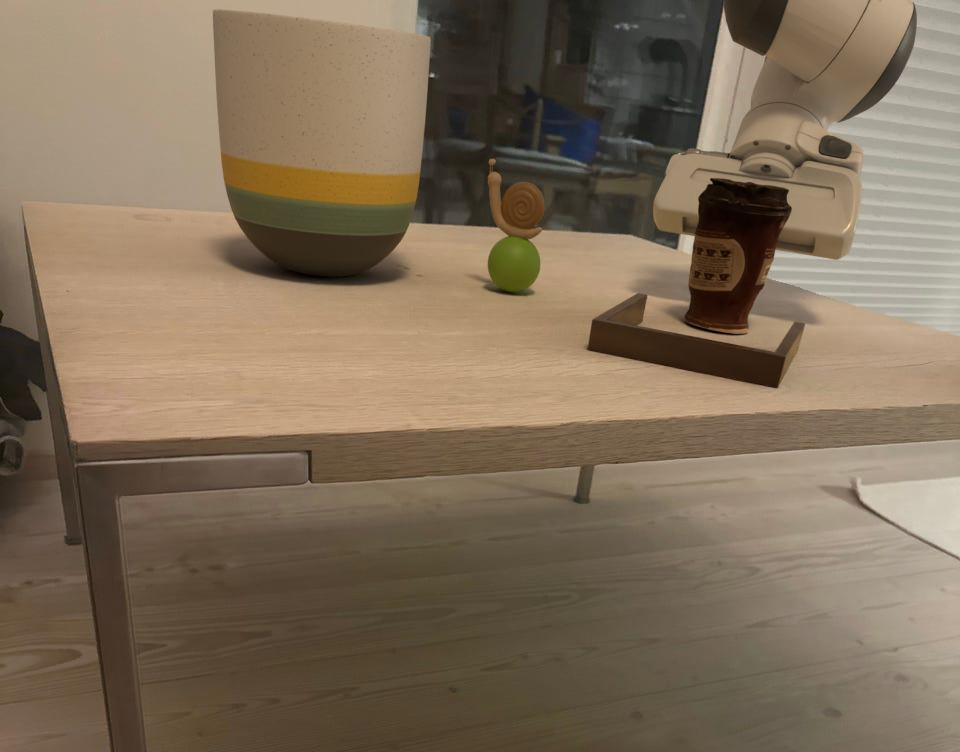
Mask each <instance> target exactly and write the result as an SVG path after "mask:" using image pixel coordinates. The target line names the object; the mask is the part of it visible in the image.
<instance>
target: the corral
mask: <svg viewBox="0 0 960 752" xmlns="http://www.w3.org/2000/svg"><path fill="white" fill-rule="evenodd" d="M647 300H648V294H646V293H640V292H637V293H635V294H634V295H631V296H630V297H628V298H626V299H625V300H623V301H622V302H620V303H618V304H617V305H615V306H613V307H612V308H610V309H608V310H606V311H605V312H602V313H601V314H600V315H599V314H598V316H595V317H594V318H592V320H591V325H590V331H589V337H588V343H587V350H588V351H593V352H598V353H602V354H607V355H611V356H617V357H623V358H626V359H632V360H637V361H642V362H647V363H652V364H656V365H662V366H666V367H672V368H677V369H682V370H687V371H692V372H697V373H700V374H705V375H706V374H707V375H711V376H716V377H722V378H725V379H730V380H731V379H732V380H737V381H740V382H745V383H751V384H757V385H761V386H766V387H770V388H775V389H778V388H779V386H780V384H781V383H782V380H783V379H784V377H785V375H786V373H787V371H788V370H789V368H790V366H791V364H792V362H793V360H794V358H795V356H796V355H797V353H798V351H799V348H800V345H801V340H802V337H803V333H804V330H805V327H806V323H805V322H800V321H794V322H793V323H792V325H791V326H790V328H789V330H788V331H787V333H786V334H785V335H784V336H783V339H782V340H781V341H780V343H779V345H778V346H777V348H776V350H775V351H771V350H766V349H761V348H756V347H752V346H751V347H750V346H746V345H740V344H735V343H731V342H730V343H729V342H724V341H720V340H715V339H709V338H705V337H704V338H703V337H699V336H693V335H688V334H683V333H677V332H673V331H669V330H668V331H667V330H663V329H658V328H657V329H656V328H651V327H646V326H642V325H640V323H642V322H643V320H644V315H645V310H646V305H647Z"/></svg>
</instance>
